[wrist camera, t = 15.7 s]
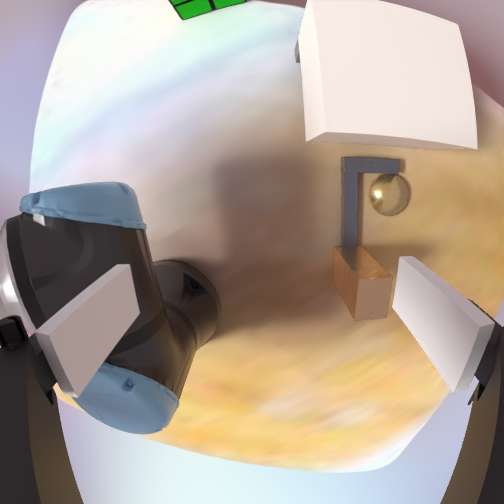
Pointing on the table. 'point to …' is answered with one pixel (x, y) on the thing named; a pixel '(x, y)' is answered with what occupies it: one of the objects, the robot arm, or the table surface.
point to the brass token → (388, 194)
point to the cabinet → (384, 76)
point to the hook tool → (356, 257)
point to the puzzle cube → (199, 6)
